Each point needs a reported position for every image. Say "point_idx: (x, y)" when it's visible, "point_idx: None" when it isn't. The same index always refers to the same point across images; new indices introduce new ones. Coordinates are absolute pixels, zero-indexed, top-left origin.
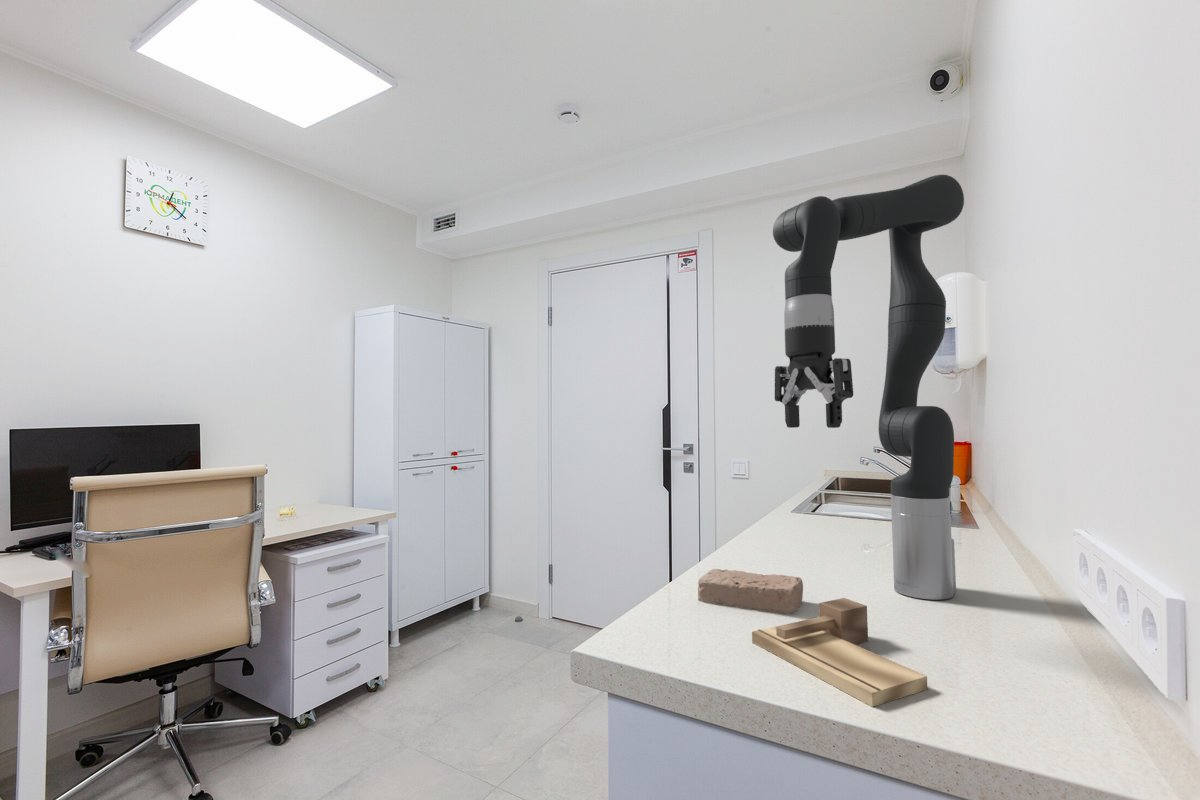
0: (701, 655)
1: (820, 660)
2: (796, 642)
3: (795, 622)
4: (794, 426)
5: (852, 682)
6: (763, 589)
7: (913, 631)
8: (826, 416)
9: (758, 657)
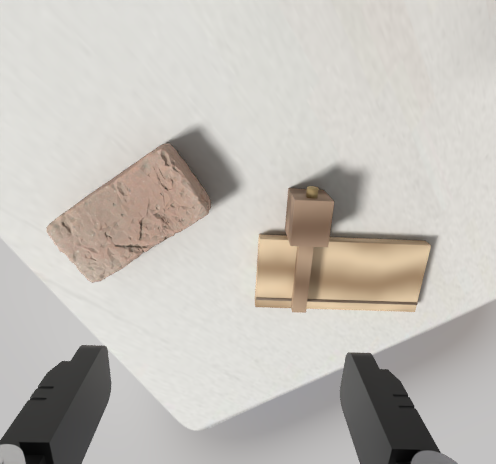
0: (253, 357)
1: (349, 301)
2: None
3: (295, 287)
4: (107, 370)
5: (393, 310)
6: (174, 233)
7: (337, 107)
8: (354, 441)
9: (286, 317)
